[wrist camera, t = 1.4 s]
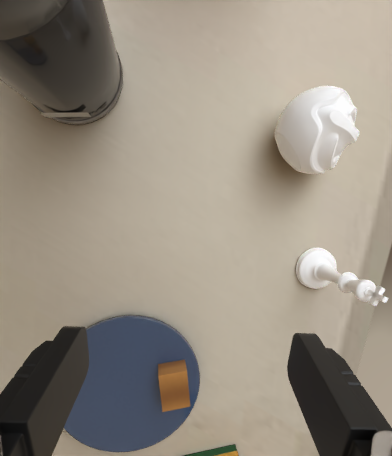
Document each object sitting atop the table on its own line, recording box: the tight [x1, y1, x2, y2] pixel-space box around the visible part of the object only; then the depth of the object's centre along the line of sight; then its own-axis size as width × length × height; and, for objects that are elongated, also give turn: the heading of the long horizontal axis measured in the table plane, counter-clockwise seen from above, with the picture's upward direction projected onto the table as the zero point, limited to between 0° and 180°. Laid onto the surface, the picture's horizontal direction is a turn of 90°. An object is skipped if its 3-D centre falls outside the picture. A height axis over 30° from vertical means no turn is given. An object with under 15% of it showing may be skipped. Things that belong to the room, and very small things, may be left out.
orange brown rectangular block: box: [158, 360, 190, 412], centre depth 29 cm, size 4×3×2 cm
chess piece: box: [296, 248, 388, 306], centre depth 27 cm, size 5×5×10 cm
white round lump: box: [275, 86, 360, 174], centre depth 26 cm, size 8×8×8 cm
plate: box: [64, 315, 200, 452], centre depth 30 cm, size 16×16×1 cm
